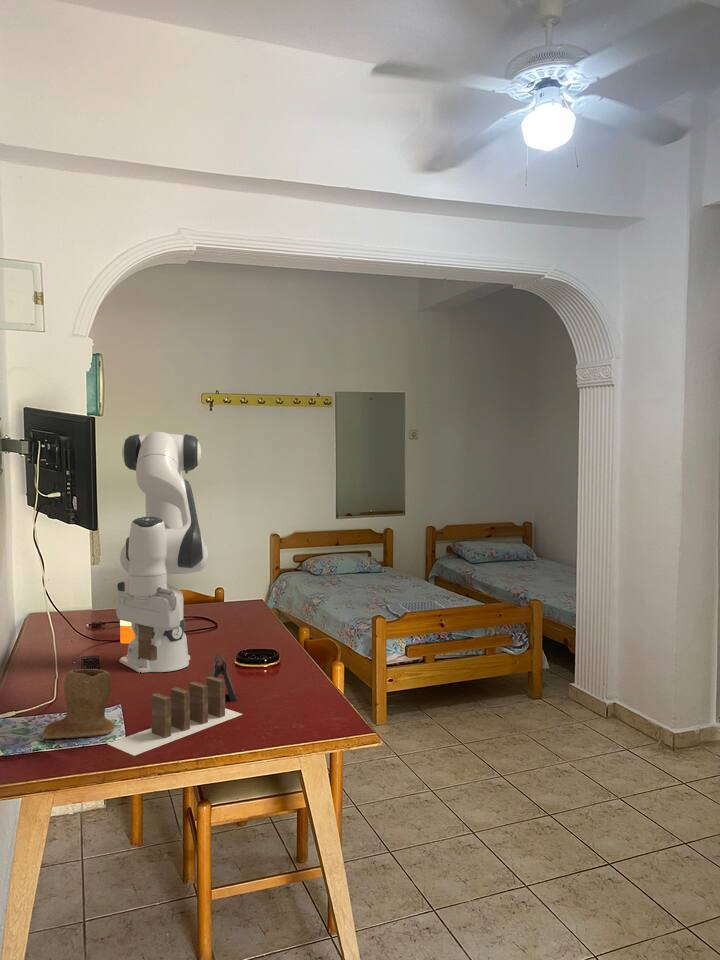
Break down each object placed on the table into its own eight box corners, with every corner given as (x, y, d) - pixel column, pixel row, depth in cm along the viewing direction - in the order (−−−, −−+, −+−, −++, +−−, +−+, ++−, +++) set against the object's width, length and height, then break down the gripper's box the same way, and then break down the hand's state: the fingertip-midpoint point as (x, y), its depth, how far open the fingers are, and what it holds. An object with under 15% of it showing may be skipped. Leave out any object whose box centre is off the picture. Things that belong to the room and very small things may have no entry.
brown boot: (116, 722, 186) (116, 661, 185) (112, 741, 174) (112, 676, 174) (50, 726, 182) (49, 665, 182) (41, 746, 171) (41, 680, 170)
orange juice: (151, 637, 264) (151, 580, 263) (142, 644, 256) (141, 585, 254) (130, 636, 265) (129, 579, 264) (119, 643, 256) (119, 584, 255)
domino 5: (220, 717, 187) (220, 681, 186) (206, 713, 190) (206, 677, 189) (225, 716, 188) (225, 680, 188) (211, 711, 191) (211, 676, 191)
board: (106, 748, 170) (106, 743, 170) (215, 708, 196) (215, 705, 196) (134, 760, 164) (134, 755, 164) (243, 718, 189) (243, 714, 189)
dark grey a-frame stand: (236, 697, 205) (236, 653, 204) (237, 705, 199) (238, 659, 198) (201, 699, 202) (202, 655, 202) (202, 707, 197) (202, 661, 196)
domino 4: (202, 724, 182) (202, 687, 182) (189, 719, 185) (189, 683, 185) (207, 722, 184) (207, 685, 183) (194, 717, 187) (194, 681, 186)
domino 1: (151, 661, 179) (151, 623, 179) (138, 657, 182) (138, 620, 182) (157, 659, 181) (157, 622, 180) (144, 656, 184) (144, 619, 184)
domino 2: (165, 738, 174) (165, 699, 173) (151, 732, 177) (151, 694, 176) (170, 736, 175) (170, 697, 174) (157, 730, 178) (157, 693, 178)
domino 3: (184, 731, 178) (184, 693, 178) (170, 726, 181) (170, 688, 181) (189, 729, 179) (189, 691, 179) (176, 724, 182) (176, 687, 182)
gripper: (186, 588, 177) (186, 647, 178) (133, 579, 190) (133, 634, 190) (164, 592, 172) (164, 653, 173) (111, 583, 185) (111, 639, 185)
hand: (147, 643), depth 181 cm, fingers closed on domino 1, 5 cm apart
